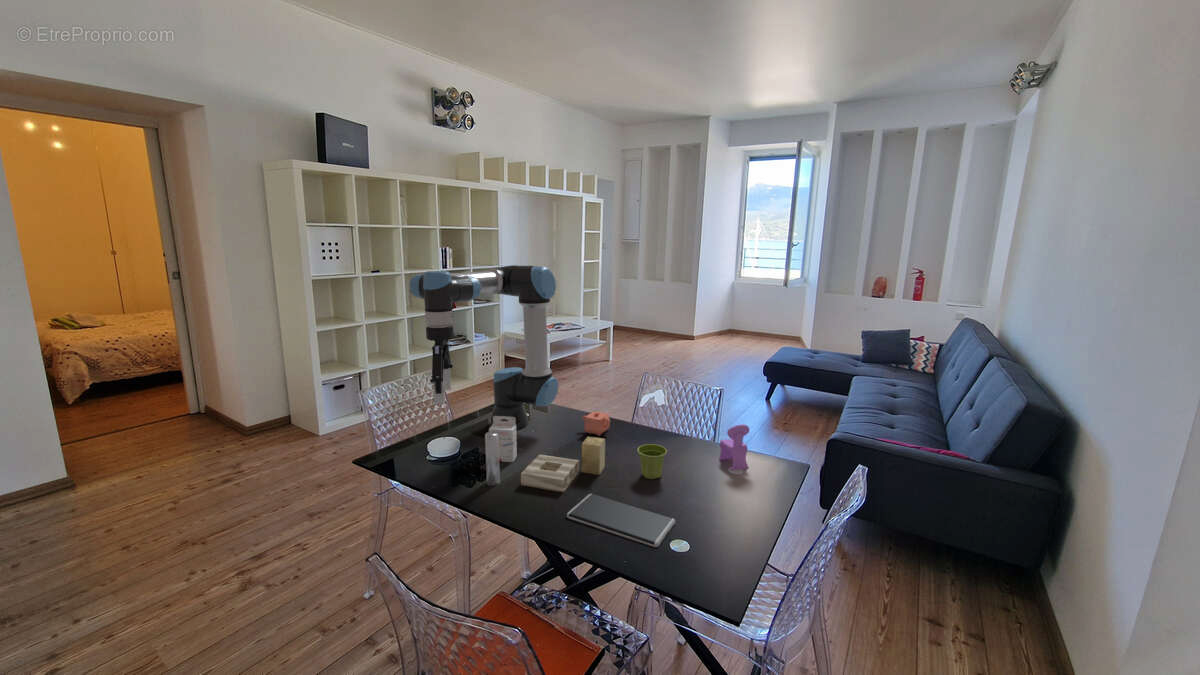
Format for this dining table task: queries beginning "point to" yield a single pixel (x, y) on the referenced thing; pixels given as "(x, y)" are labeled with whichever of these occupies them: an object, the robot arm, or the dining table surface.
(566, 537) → the dining table surface
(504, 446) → the ink cartridge box
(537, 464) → the socket block
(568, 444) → the dining table surface
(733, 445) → the toy chair
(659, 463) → the plant pot
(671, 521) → the smartphone
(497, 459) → the cylinder
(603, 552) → the dining table surface
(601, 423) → the pink cube teapot
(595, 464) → the square bar
